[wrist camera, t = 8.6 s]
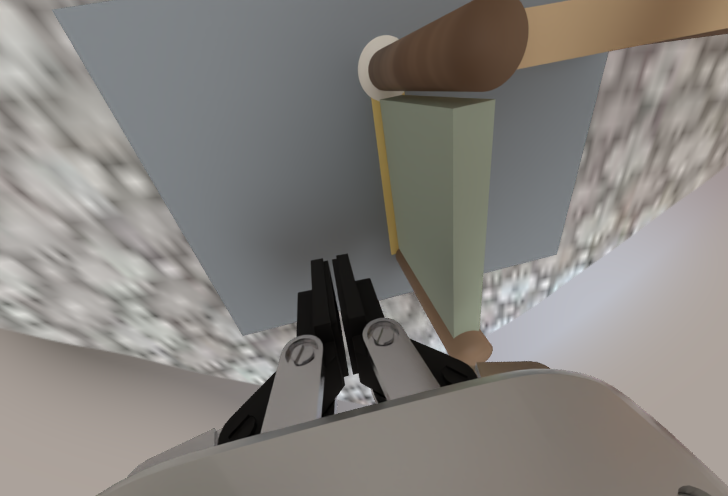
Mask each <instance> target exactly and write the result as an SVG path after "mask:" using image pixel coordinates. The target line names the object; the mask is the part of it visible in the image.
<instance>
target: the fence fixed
mask: <svg viewBox="0 0 728 496" xmlns="http://www.w3.org/2000/svg"><path fill="white" fill-rule="evenodd" d="M721 34H728V0H568V1H563V2H557V3H551V4H546V5H540V6H534V7H529V8H524V6H523V5H522V3H521V2H520V0H473V1H471V2H469V3H467V4H465V5H463V6H461V7H459V8H458V9H456V10H454V11H452V12H450V13H448V14H446V15H444V16H442V17H441V18H439V19H437V20H435V21H433V22H431V23H429V24H427V25H425V26H423V27H422V28H420V29H418V30H416V31H414V32H412V33H410V34H408V35H406V36H404V37H403V38H401V39H399V40H397V41H395V42H393V43H391V44H389V45H387V46H385V47H384V48H382V49H380V50H378V51H377V52H375V53H374V55H373V56H372V58H371V59H370V62H369V66H368V74H369V78H370V81H371V82H372V84H373V85H374V86H375V87H376V88H377V89H379V90H382V91H443V92H486V91H491V90H493V89H496V88H498V87H499V86H501V85H502V84H504V83H505V82H506V81H507V80H508V79H509V78H510V77H511V76H512V75H513V74H514V72H515V71H516V69H522V68H527V67H532V66H537V65H542V64H547V63H552V62H557V61H562V60H567V59H573V58H578V57H583V56H588V55H593V54H598V53H603V52H608V51H613V50H619V49H624V48H629V47H634V46H639V45H646V44H653V43H661V42H668V41H676V40H684V39H691V38H699V37H706V36H714V35H721Z"/></svg>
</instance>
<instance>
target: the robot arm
mask: <svg viewBox="0 0 728 496" xmlns="http://www.w3.org/2000/svg"><path fill="white" fill-rule="evenodd" d="M332 264H333V270H334V275H335V281H336V287H337V293H338V299H339V305H340V310H341V316H342V321H343V327H344V332H345V337H346V342H347V346H348V351H349V356H350V361H351V366H352V371H353V375H354V374H358V373H359V378H360V382H361V383H362V384H364V385H366V386H367V387H369V388H371V392H372V395H373V398H374V400H375V403H376V404H373V405H369V406H365V407H362V408H358V409H354V410H350V411H346V412H342V413H338V414H337V405H338V403H337V395H338V394H339V393H340V391H341V390H342V388H343V387H344V386H345V382H344V377H345V376H349V373H348V367H347V361H346V355H345V349H344V342H343V336H342V330H341V324H340V318H339V312H338V306H337V301H336V296H335V292H334V287H333V282H332V277H331V272H330V267H329V263H328V260H327V261H323V258H321V259H315V260H311V281H312V290H308V291H303V292H298V298H297V337H296V338H294V339H292V340H291V341H290V342H288V343H287V344H286V345H285V347H284V348H283V350H282V352H281V355H280V359H279V363H278V367H277V371H276V372H275V373H274V374H273V375H272V376H271V377H270V378H269V379H268V380H267V381H266V382H265V383H264V384H263V385H262V386H261V387H260V388H259V389H258V390H257V391H256V392H255V393H254V394H253V395H252V396H251V397H250V398H249V399H248V401H246V402H245V404H243V405H242V406H241V408H240V409H239V410H238V411H237V412H236V413H235V414H234V415H233V416H232V417H231V418H230V419H229V420H228V421H227V423H226V424H225V425H224V427H223V428H222V429H219V430H217V431H216V429H215V428H213V429H211V430H209V431H207V432H205V433H203V434H201V435H199V436H197V437H194V438H192V439H190V440H188V441H186V442H184V443H182V444H180V445H178V446H175V447H173V448H171V449H169V450H167V451H165V452H163V453H161V454H159V455H156V456H154V457H152V458H150V459H148V460H146V461H145V462H143V463H142V464H140V465H138V466H137V468H135V469H134V470H133V471H132V472H131V473H130V474H129V475H128V477H127V478H125V479H124V480H121V481H120V482H118V483H116V484H114V485H112V486H111V487H109V488H107V489H106V490H104V491H103V492H101V493H99V494H98V495H96V496H728V486H727V485H726V484H725V483H724V482H723V481H722V480H721V479H720V478H719V477H718V476H717V475H716V474H715V473H713V471H711V470H710V469H709V468H708V467H707V466H706V465H705V464H704V463H703V462H702V461H701V460H700V459H698V458H697V457H696V456H695V455H694V454H693V453H692V452H691V451H690V450H689V449H688V448H686V447H685V446H684V445H683V444H682V443H681V442H680V441H679V440H678V439H676V438H675V436H673V435H672V434H671V433H670V432H669V431H668V430H667V429H666V428H664V427H663V426H662V425H661V424H660V423H659V422H658V421H656V420H655V419H654V418H653V417H652V416H651V415H650V414H648V413H647V412H646V411H645V410H643V409H642V408H641V407H640V406H639V405H637V404H636V403H635V402H634V401H632V400H631V399H630V398H629V397H627V396H626V395H624V394H623V393H622V392H620V391H619V390H618V389H616V388H614V387H613V386H611V385H609V384H608V383H606V382H604V381H602V380H600V379H598V378H595V377H592V376H589V375H586V374H582V373H578V372H573V371H566V370H558V369H550V368H549V367H547V366H545V365H543V364H541V363H538V362H532V361H522V362H476V365H475V366H469V365H468V364H466V363H464V362H463V361H461V360H458V359H456V358H454V357H451V356H449V355H447V354H444V353H442V352H440V351H437V350H435V349H433V348H430V347H428V346H426V345H423V344H421V343H419V342H416V341H414V340H412V339H409V337H408V336H407V334H406V332H405V331H404V329H403V328H402V326H401V325H400V324H399V323H398V322H396V321H395V320H393V319H389V318H384V315H383V312H382V309H381V307H380V304H379V301H378V298H377V295H376V293H375V290H374V287H373V284H372V282H371V279H370V278H366V279H362V280H357V281H355V278H354V275H353V271H352V267H351V264H350V260H349V256H348V253H347V254H342V255H336V259H332Z"/></svg>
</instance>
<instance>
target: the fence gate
mask: <svg viewBox="0 0 728 496" xmlns="http://www.w3.org/2000/svg"><path fill="white" fill-rule="evenodd" d="M380 107H381V115H382V122H383V130H384V138H385V145H386V153H387V161H388V169H389V176H390V184H391V192H392V199H393V207H394V215H395V222H396V230H397V238H398V245H399V249H398V250H397V252H396V260H397V262H398V263H399V265H400V267H401V269H402V271H403V273H404V274H405V276H406V278H407V280H408V282H409V283H410V285H411V287H412V289H413V291H414V292H415V294H416V296H417V298H418V300H419V302H420V303H421V305H422V307H423V309H424V311H425V312H426V314H427V316H428V318H429V320H430V321H431V323H432V325H433V327H434V329H435V331H436V332H437V334H438V336H439V338H440V340H441V341H442V343H443V345H444V347H445V349H446V350H447V352H448V354H449V356H451V357H454V358H456V359H458V360H461V361H463V362H464V363H466V364H468V365H469V366H475V365H476V362H485V361H486V360H488V358H489V357H490V356H491V354H492V351H493V348H492V345H491V344H490V343H489V341H488V340H487V338H486V337H485V336H484V334H483V333H482V332H481V330H480V314H481V300H482V286H483V271H484V257H485V243H486V228H487V214H488V200H489V185H490V171H491V156H492V142H493V128H494V113H495V99H478V98H458V97H437V96H416V95H399V96H394V97H390V98H385V99H380Z"/></svg>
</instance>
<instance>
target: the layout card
mask: <svg viewBox="0 0 728 496" xmlns="http://www.w3.org/2000/svg"><path fill="white" fill-rule="evenodd" d="M471 1H473V0H112V1H106V2H99V3H92V4H86V5H79V6H73V7H66V8H60V9H53V10H52V11H53V12H54V14H55V16H56V18H57V19H58V21H59V23H60V24H61V26H62V28H63V30H64V31H65V33H66V35H67V36H68V38H69V40H70V41H71V43H72V45H73V47H74V48H75V50H76V52H77V53H78V55H79V57H80V59H81V60H82V62H83V64H84V65H85V67H86V69H87V71H88V72H89V74H90V76H91V77H92V79H93V81H94V82H95V84H96V86H97V88H98V89H99V91H100V93H101V94H102V96H103V98H104V100H105V101H106V103H107V105H108V106H109V108H110V110H111V112H112V113H113V115H114V117H115V118H116V120H117V122H118V123H119V125H120V127H121V129H122V130H123V132H124V134H125V135H126V137H127V139H128V141H129V142H130V144H131V146H132V147H133V149H134V151H135V152H136V154H137V156H138V158H139V159H140V161H141V163H142V164H143V166H144V168H145V170H146V171H147V173H148V175H149V176H150V178H151V180H152V182H153V183H154V185H155V187H156V188H157V190H158V192H159V193H160V195H161V197H162V199H163V200H164V202H165V204H166V205H167V207H168V209H169V211H170V212H171V214H172V216H173V217H174V219H175V221H176V223H177V224H178V226H179V228H180V229H181V231H182V233H183V234H184V236H185V238H186V240H187V241H188V243H189V245H190V246H191V248H192V250H193V252H194V253H195V255H196V257H197V258H198V260H199V262H200V263H201V265H202V267H203V269H204V270H205V272H206V274H207V275H208V277H209V279H210V281H211V282H212V284H213V286H214V287H215V289H216V291H217V293H218V294H219V296H220V298H221V299H222V301H223V303H224V304H225V306H226V308H227V310H228V311H229V313H230V315H231V316H232V318H233V320H234V322H235V323H236V325H237V327H238V328H239V330H240V332H241V334H242V335H243V336H244V335H248V334H252V333H256V332H260V331H264V330H267V329H271V328H275V327H279V326H283V325H287V324H291V323H294V322H297V298H298V292H303V291H308V290H312V281H311V260H315V259H321V258H323V261H327V260H328V263H329V267H330V272H331V277H332V282H333V287H334V292H335V296H336V301H337V306H338V311H341V310H340V305H339V299H338V293H337V287H336V281H335V275H334V270H333V264H332V259H336V255H342V254H347V253H348V256H349V260H350V264H351V267H352V271H353V275H354V278H355V281H357V280H362V279H366V278H370V279H371V282H372V284H373V287H374V290H375V293H376V295H377V298H378V301H379V300H383V299H387V298H391V297H395V296H398V295H402V294H406V293H410V292H414V291H413V289H412V287H411V285H410V283H409V282H408V280H407V278H406V276H405V274H404V273H403V271H402V269H401V267H400V265H399V263H398V262H397V260H396V252H397V250H398V249H399V245H398V238H397V230H396V222H395V215H394V207H393V199H392V192H391V184H390V176H389V169H388V161H387V153H386V145H385V138H384V130H383V122H382V115H381V107H380V99H385V98H390V97H394V96H399V95H416V96H437V97H458V98H478V99H495V113H494V128H493V142H492V156H491V171H490V185H489V200H488V214H487V228H486V243H485V257H484V271H483V273H487V272H491V271H495V270H499V269H502V268H506V267H510V266H514V265H518V264H522V263H526V262H529V261H533V260H537V259H541V258H545V257H549V256H553V255H556V254H557V251H558V247H559V243H560V239H561V235H562V232H563V228H564V224H565V220H566V216H567V212H568V208H569V204H570V200H571V196H572V193H573V189H574V185H575V181H576V177H577V173H578V169H579V165H580V161H581V157H582V154H583V150H584V146H585V142H586V138H587V134H588V130H589V126H590V122H591V118H592V115H593V111H594V107H595V103H596V99H597V95H598V91H599V87H600V83H601V79H602V75H603V72H604V68H605V64H606V60H607V56H608V52H609V51H608V52H603V53H598V54H593V55H588V56H583V57H578V58H573V59H567V60H562V61H557V62H552V63H547V64H542V65H537V66H532V67H527V68H522V69H516V71H515V72H514V74H513V75H512V76H511V77H510V78H509V79H508V80H507V81H506V82H505V83H504V84H502V85H501V86H499V87H498V88H496V89H493V90H491V91H486V92H443V91H382V90H379V89H377V88H376V87H375V86H374V85H373V84H372V82H371V81H370V78H369V74H368V66H369V62H370V59H371V58H372V56H373V55H374V53H375V52H377V51H378V50H380V49H382V48H384V47H385V46H387V45H389V44H391V43H393V42H395V41H397V40H399V39H401V38H403V37H404V36H406V35H408V34H410V33H412V32H414V31H416V30H418V29H420V28H422V27H423V26H425V25H427V24H429V23H431V22H433V21H435V20H437V19H439V18H441V17H442V16H444V15H446V14H448V13H450V12H452V11H454V10H456V9H458V8H459V7H461V6H463V5H465V4H467V3H469V2H471ZM563 1H568V0H520V2H521V3H522V5H523V6H524V8H529V7H534V6H540V5H546V4H551V3H557V2H563Z"/></svg>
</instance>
